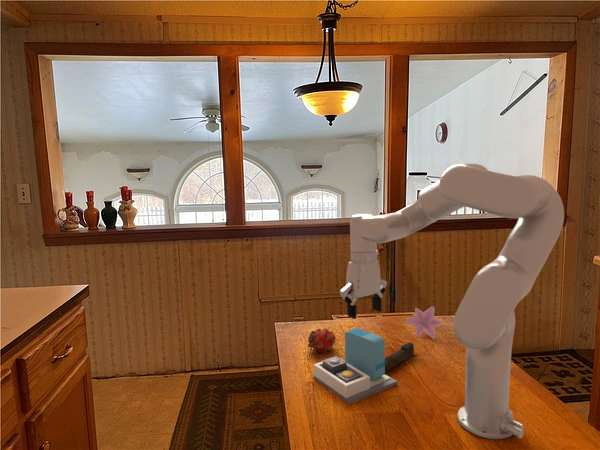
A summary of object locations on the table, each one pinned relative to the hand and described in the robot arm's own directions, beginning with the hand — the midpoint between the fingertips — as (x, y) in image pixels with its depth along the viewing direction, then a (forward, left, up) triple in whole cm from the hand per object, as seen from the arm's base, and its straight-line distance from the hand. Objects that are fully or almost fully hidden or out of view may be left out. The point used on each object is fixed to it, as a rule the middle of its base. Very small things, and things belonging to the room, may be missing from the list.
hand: (364, 313), depth 119 cm
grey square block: (+3, +9, -16) cm, 19 cm away
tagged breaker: (-3, +9, -18) cm, 20 cm away
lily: (+11, -40, -20) cm, 46 cm away
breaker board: (0, +4, -20) cm, 20 cm away
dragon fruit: (+22, 0, -20) cm, 30 cm away
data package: (0, 0, -18) cm, 18 cm away
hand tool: (+1, -14, -20) cm, 25 cm away
